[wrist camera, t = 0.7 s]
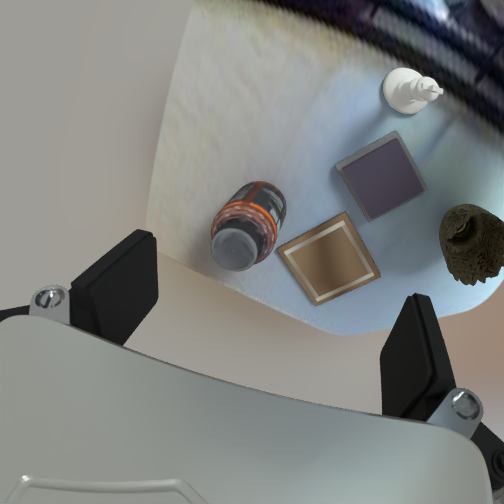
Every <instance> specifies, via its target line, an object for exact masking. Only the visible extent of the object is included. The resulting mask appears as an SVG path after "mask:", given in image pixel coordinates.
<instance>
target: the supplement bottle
mask: <svg viewBox="0 0 504 504" xmlns="http://www.w3.org/2000/svg"><path fill="white" fill-rule="evenodd" d="M285 214H286V202H285V199H284V197H283V195H282V193H281V192H280V191H279V190H278V189H277V188H276V187H275V186H273V185H271V184H269V183H266V182H260V181H256V182H251V183H249V184H246V185H245V186H243V187H242V188H241V189H240V190H239V191H238V192H237V193H236V194H235V195H234V196H233V197H232V198H231V200H230V201H229V202H228V203H227V204H226V205H225V206H224V207H223V208H222V210H221V211H220V212H219V213H218V214H217V216H216V217H215V219H214V221H213V224H212V228H211V238H212V242H211V252H212V254H213V257H214V259H215V260H216V261H217V263H218V264H220V265H221V266H222V267H224V268H226V269H228V270H231V271H243V270H247V269H248V268H250V267H251V266H252V265H254V264H257V263H259V262H261V261H263V260H264V259H265V258H266V257H267V256H268V255H269V254H270V253H271V251H272V249H273V247H274V244H275V242H276V239H277V237H278V234H279V231H280V228H281V226H282V223H283V221H284V218H285Z"/></svg>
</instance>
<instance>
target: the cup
mask: <svg viewBox="0 0 504 504" xmlns="http://www.w3.org/2000/svg"><path fill="white" fill-rule="evenodd" d="M439 239H440V245H441V249H442V252H443V255H444V258H445V261H446V264H447V268H448V270H449V272H450V273H451V274H453V276H454V279H455V280H456V281H458V280H459V279H460V281H461V282H462V283H463V284H464V285H468V284H471V285H472V286H474V285H475V284H476V282H477V280H479V281H480V282H482V283H485V282H486V278H488V277H490V278H492V277H496V276H498V274H499V271H500V269H501V267H502V266H503V267H504V222H503V221H502V220H500V219H499V218H498V217H497V216H495V215H493V214H492V213H490V212H488V211H487V210H485V209H483V208H481V207H479V206H476V205H472V204H462V205H458V206H456V207H454V208H452V209H451V210H450V211H449V212H448V213H447V214H446V215H445V217H444V218H443V220H442V223H441V226H440V231H439Z"/></svg>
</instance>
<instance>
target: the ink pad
mask: <svg viewBox="0 0 504 504" xmlns="http://www.w3.org/2000/svg"><path fill="white" fill-rule="evenodd" d="M335 166H336V168H337V170H338V171H339V173H340V174H341V176H342V178H343V179H344V181H345V183H346V184H347V186H348V188H349V189H350V191H351V193H352V195H353V196H354V198H355V200H356V201H357V203H358V205H359V207H360V208H361V210H362V212H363V214H364V215H365V217H366V219H367V221H368V222H370V221H371V220H373V219H375V218H377V217H379V216H381V215H383V214H385V213H387V212H388V211H390V210H392V209H394V208H396V207H398V206H400V205H401V204H403V203H405V202H407V201H409V200H411V199H413V198H414V197H416V196H418V195H420V194H422V193H424V192H426V191H427V188H426V186H425V183H424V181H423V179H422V177H421V175H420V173H419V171H418V169H417V167H416V165H415V163H414V161H413V159H412V157H411V155H410V153H409V151H408V149H407V148H406V146H405V144H404V142H403V140H402V138H401V137H400V135H399V133H398V131H396V130H395V131H393V132H391V133H389V134H388V135H386V136H384V137H382V138H380V139H379V140H377V141H375V142H373V143H372V144H370V145H368V146H366V147H364V148H363V149H361V150H359V151H357V152H356V153H354V154H352V155H350V156H349V157H347V158H345V159H343V160H342V161H340V162H338V163H336V164H335Z"/></svg>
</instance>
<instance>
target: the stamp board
mask: <svg viewBox="0 0 504 504" xmlns="http://www.w3.org/2000/svg"><path fill="white" fill-rule="evenodd" d="M277 251H278V252H279V254H280V255H281V257H282V258H283V260H284V261H285V262H286V264H287V265H288V267H289V268H290V270H291V271H292V273H293V274H294V275H295V277H296V278H297V280H298V281H299V283H300V284H301V286H302V287H303V289H304V290H305V291H306V293H307V294H308V296H309V297H310V299H311V300H312V302H313V303H314V305H315V306H318V305H320V304H323V303H325V302H327V301H329V300H332V299H334V298H336V297H338V296H341V295H343V294H345V293H347V292H349V291H352V290H354V289H356V288H358V287H360V286H362V285H364V284H367V283H369V282H371V281H373V280H375V279H377V278H379V277H381V275H380V273H379V271H378V269H377V267H376V265H375V263H374V261H373V260H372V258H371V256H370V254H369V252H368V250H367V249H366V247H365V245H364V243H363V241H362V240H361V238H360V236H359V234H358V233H357V231H356V229H355V227H354V226H353V224H352V222H351V220H350V219H349V217H348V215H347V214H346V212H345V211H344V212H343V213H341V214H339V215H337V216H335V217H333V218H332V219H330V220H328V221H326V222H324V223H322V224H320V225H319V226H317V227H315V228H313V229H311V230H309V231H307V232H306V233H304V234H302V235H300V236H298V237H296V238H294V239H293V240H291V241H289V242H287V243H285V244H283V245H281V246H279V247H278V248H277Z"/></svg>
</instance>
